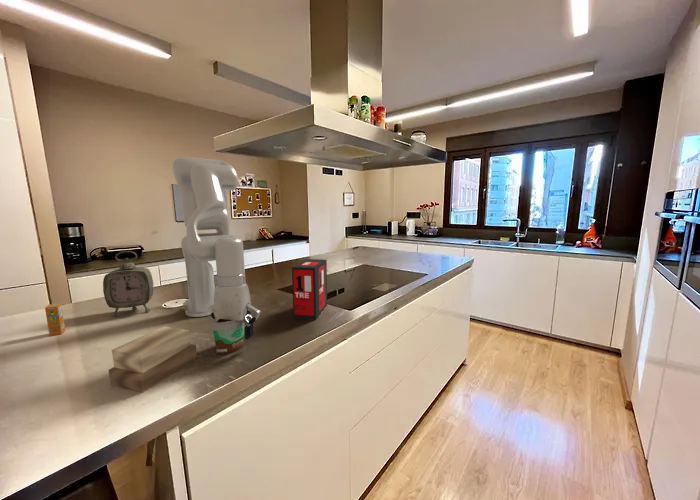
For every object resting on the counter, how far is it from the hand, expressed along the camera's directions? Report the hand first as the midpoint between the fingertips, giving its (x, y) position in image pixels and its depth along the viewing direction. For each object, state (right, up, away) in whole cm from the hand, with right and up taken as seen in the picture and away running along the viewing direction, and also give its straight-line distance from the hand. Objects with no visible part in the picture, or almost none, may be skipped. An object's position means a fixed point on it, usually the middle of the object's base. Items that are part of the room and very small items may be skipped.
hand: (235, 335), depth 87 cm
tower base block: (-16, -6, -11) cm, 20 cm away
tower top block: (-16, -2, -12) cm, 20 cm away
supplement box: (-64, -3, +10) cm, 65 cm away
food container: (0, -4, +1) cm, 4 cm away
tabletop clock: (-53, 0, +30) cm, 61 cm away
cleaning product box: (+19, +1, +30) cm, 36 cm away
